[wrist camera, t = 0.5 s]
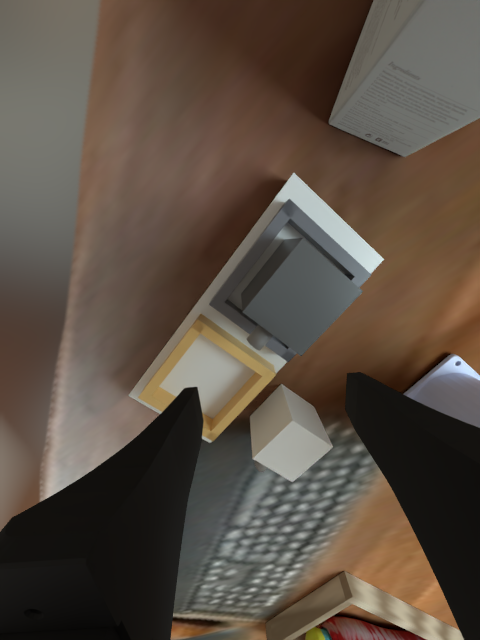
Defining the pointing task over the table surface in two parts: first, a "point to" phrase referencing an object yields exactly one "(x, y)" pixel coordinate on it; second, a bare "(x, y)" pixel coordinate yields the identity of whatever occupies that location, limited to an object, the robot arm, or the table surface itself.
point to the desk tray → (348, 590)
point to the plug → (287, 434)
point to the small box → (412, 74)
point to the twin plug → (296, 296)
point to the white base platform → (233, 325)
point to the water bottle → (356, 631)
